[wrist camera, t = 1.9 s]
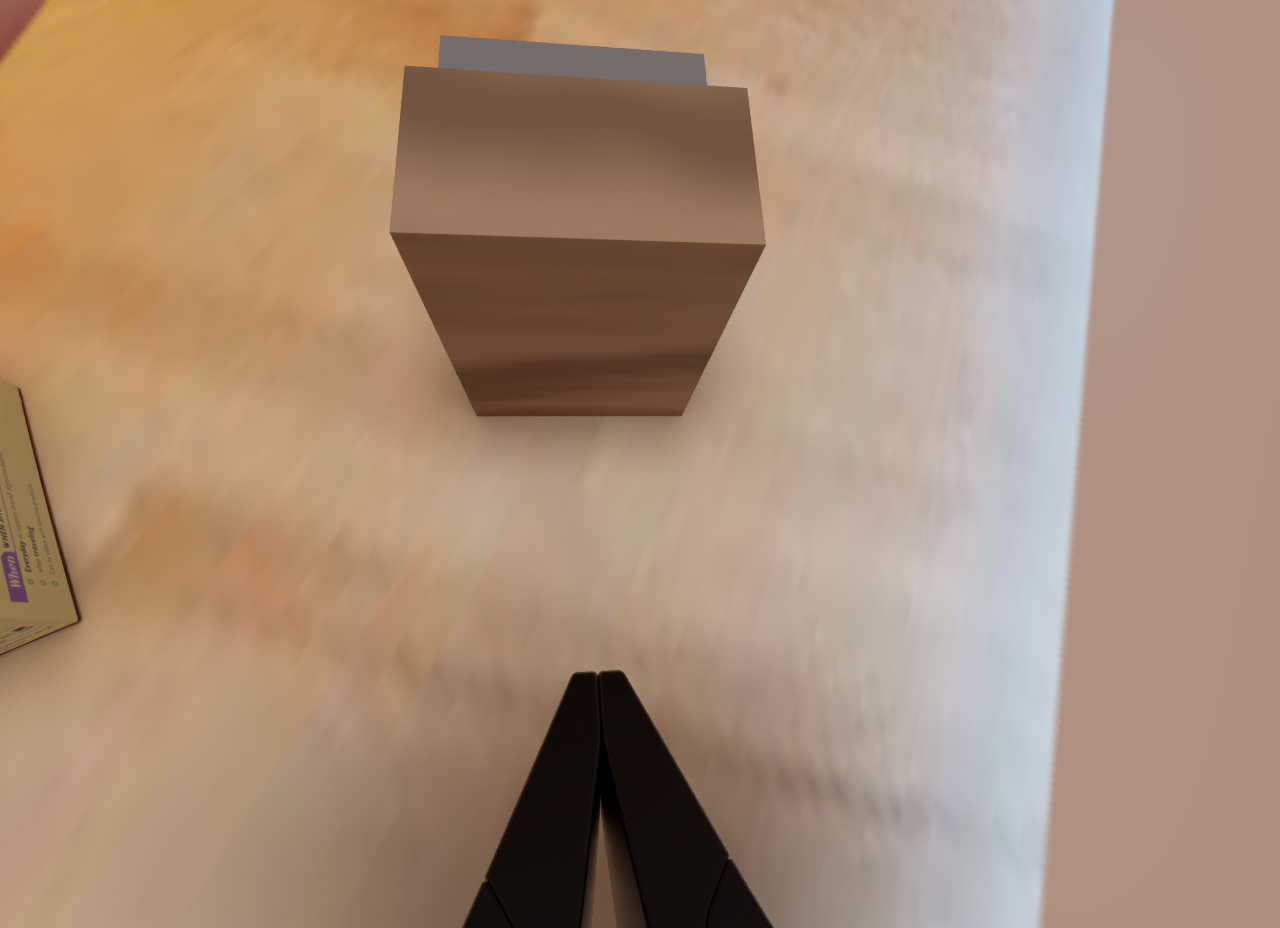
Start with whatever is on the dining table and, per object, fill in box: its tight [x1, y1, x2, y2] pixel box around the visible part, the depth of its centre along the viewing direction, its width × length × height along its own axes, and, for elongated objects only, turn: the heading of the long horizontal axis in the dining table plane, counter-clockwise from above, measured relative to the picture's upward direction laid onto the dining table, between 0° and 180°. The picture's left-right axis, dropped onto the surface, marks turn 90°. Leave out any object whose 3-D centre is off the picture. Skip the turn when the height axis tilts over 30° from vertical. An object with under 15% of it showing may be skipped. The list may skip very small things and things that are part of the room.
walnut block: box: [390, 66, 766, 416], centre depth 20 cm, size 5×9×12 cm, turn 92°
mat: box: [438, 35, 707, 86], centre depth 28 cm, size 15×14×2 cm
